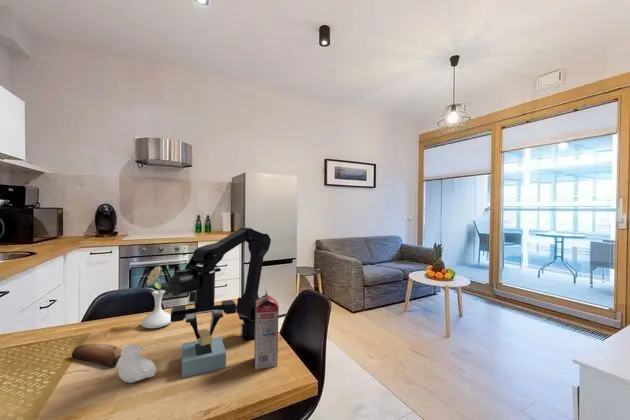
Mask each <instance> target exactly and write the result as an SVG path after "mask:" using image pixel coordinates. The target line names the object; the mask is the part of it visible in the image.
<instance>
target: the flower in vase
mask: <svg viewBox="0 0 630 420" xmlns="http://www.w3.org/2000/svg"><path fill="white" fill-rule="evenodd" d="M160 273H161V267H160V266H159V265H158V266H155V267H154V268H153V269H152V270H151V271H150V273H149V275H148V276H147V281H146V284H147V286H150V285H152V284H153V283H154V282H155V281H156V280H157V281H156V282H155V284H154V287H155V288H156V289H157V290H153V291H151V294H152V296H153V297H154V309H153V311H152V312H151V313H149V314H148V315H147V316H146V317H144V319H143V320H141V323H140V325H141V326H142V327H143V328H145V329H146V328H147V329H158V328H163V327H164V326H165V327H166V326H167V325H169V324H171V323H172V322H171V313H168V312H166V311H165V310H163V308H162V298H163V296H164V294H165V293H166V290H164V289H161V288H162V284H161V281H160V278H159V275H160Z"/></svg>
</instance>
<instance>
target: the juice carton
mask: <svg viewBox="0 0 630 420" xmlns="http://www.w3.org/2000/svg"><path fill="white" fill-rule="evenodd" d="M278 346H279V304H278V301H277V299H276V298H275V297H273V296H271V295H269V294H268V292H267V290H265V294H264V295H262V296H261V297H259V298H258V299H257V300H256V309H255V339H254V351H253V352H254V354H253V357H254V369H255V370H261V369H265V368H275V367H276V368H277V367H278V355H279V354H278V349H279V347H278Z"/></svg>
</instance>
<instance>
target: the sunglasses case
mask: <svg viewBox="0 0 630 420" xmlns="http://www.w3.org/2000/svg"><path fill="white" fill-rule="evenodd" d="M121 351H122V348H121V347H117V345H112V344H103V343H102V344H101V343H88V344H87V343H86V344H82V345H81V344H80V345H78V346H76V347H74V349H73V351H72V352H71V357H72V358H75V359H81V360H82V359H83V360H88V361H90V362H95V363H99V364H103V365H106V366H109V367H113V368H117V367H116V365H117V363H118V360H119V358H120V357H121Z"/></svg>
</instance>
